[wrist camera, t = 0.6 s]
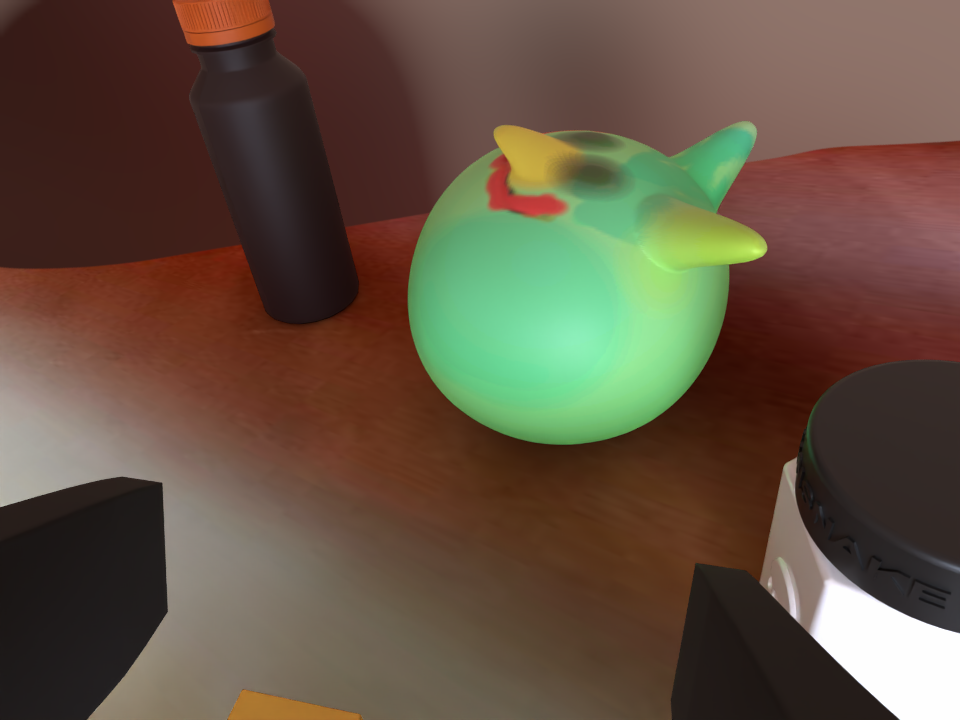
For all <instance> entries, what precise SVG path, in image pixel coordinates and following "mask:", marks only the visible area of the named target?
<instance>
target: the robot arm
mask: <svg viewBox="0 0 960 720" xmlns="http://www.w3.org/2000/svg"><path fill="white" fill-rule="evenodd" d="M167 612H168V606H167V583H166V559H165V535H164V511H163V487H162V483H161V482H154V481H148V480H141V479H134V478H128V477H116V478H110V479H104V480H99V481H95V482H90V483H86V484H82V485H78V486H74V487H70V488H66V489H63V490H59V491H56V492H52V493H48V494H45V495H41V496H38V497H34V498H31V499H27V500H24V501H20V502H17V503H14V504H10V505H7V506H3V507H0V720H87V719H88V718H89V716H90V715H91V714H92V713H93V712H94V711H95V710H96V708H97V707H98V706H99V705H100V704H101V703H102V702H103V700H104V699H105V698H106V697H107V696H108V695H109V694H110V692H111V691H112V690H113V689H114V688H115V687H116V685H117V684H118V683H119V682H120V681H121V679H122V678H123V677H124V676H125V675H126V673H127V672H128V670H129V669H130V668H131V666H132V665H133V663H134V662H135V660H136V659H137V658H138V656H139V655H140V653H141V652H142V650H143V649H144V648H145V646H146V645H147V643H148V641H149V640H150V638H151V637H152V635H153V634H154V632H155V631H156V629H157V628H158V626H159V624H160V623H161V621H162V620H163V618H164V617H165V615H166V614H167ZM671 711H672V720H900V719H899V718H898V717H897V716H895V715H894V714H893V713H892V712H891V711H890V710H889V709H887V708H886V707H885V706H884V705H883V704H882V703H881V702H880V701H879V700H878V699H876V698H875V697H874V696H873V695H872V694H871V693H870V692H869V691H868V690H867V689H866V688H865V687H864V686H862V685H861V684H860V683H859V682H858V681H857V680H856V679H855V678H854V677H853V676H852V675H851V674H850V673H849V672H848V671H847V670H846V669H845V668H843V667H842V666H841V665H840V664H839V663H838V662H837V661H836V660H835V659H834V658H833V657H832V656H831V655H830V654H829V653H828V652H827V651H826V650H825V649H824V648H823V647H822V646H821V645H820V644H819V643H818V642H817V641H816V640H815V639H814V638H813V637H812V636H811V635H810V634H809V633H808V632H807V631H806V630H805V629H804V628H803V627H802V626H801V625H800V624H799V623H798V622H797V621H796V620H795V619H794V618H793V617H792V616H791V615H790V613H789V612H788V611H787V610H786V609H785V608H784V607H783V606H782V605H781V604H780V603H779V602H778V601H777V600H776V599H775V598H774V597H773V596H772V595H771V594H770V593H769V592H768V591H767V590H766V589H765V588H764V587H763V586H762V585H761V584H760V583H759V582H758V581H757V580H756V579H755V578H754V577H753V576H752V575H750V574H749V573H748V572H747V571H745V570H739V569H732V568H726V567H719V566H712V565H706V564H699V563H696V564H695V570H694V575H693V581H692V586H691V592H690V597H689V603H688V608H687V614H686V619H685V625H684V630H683V636H682V641H681V647H680V652H679V658H678V663H677V669H676V674H675V680H674V685H673V691H672V696H671Z"/></svg>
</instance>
